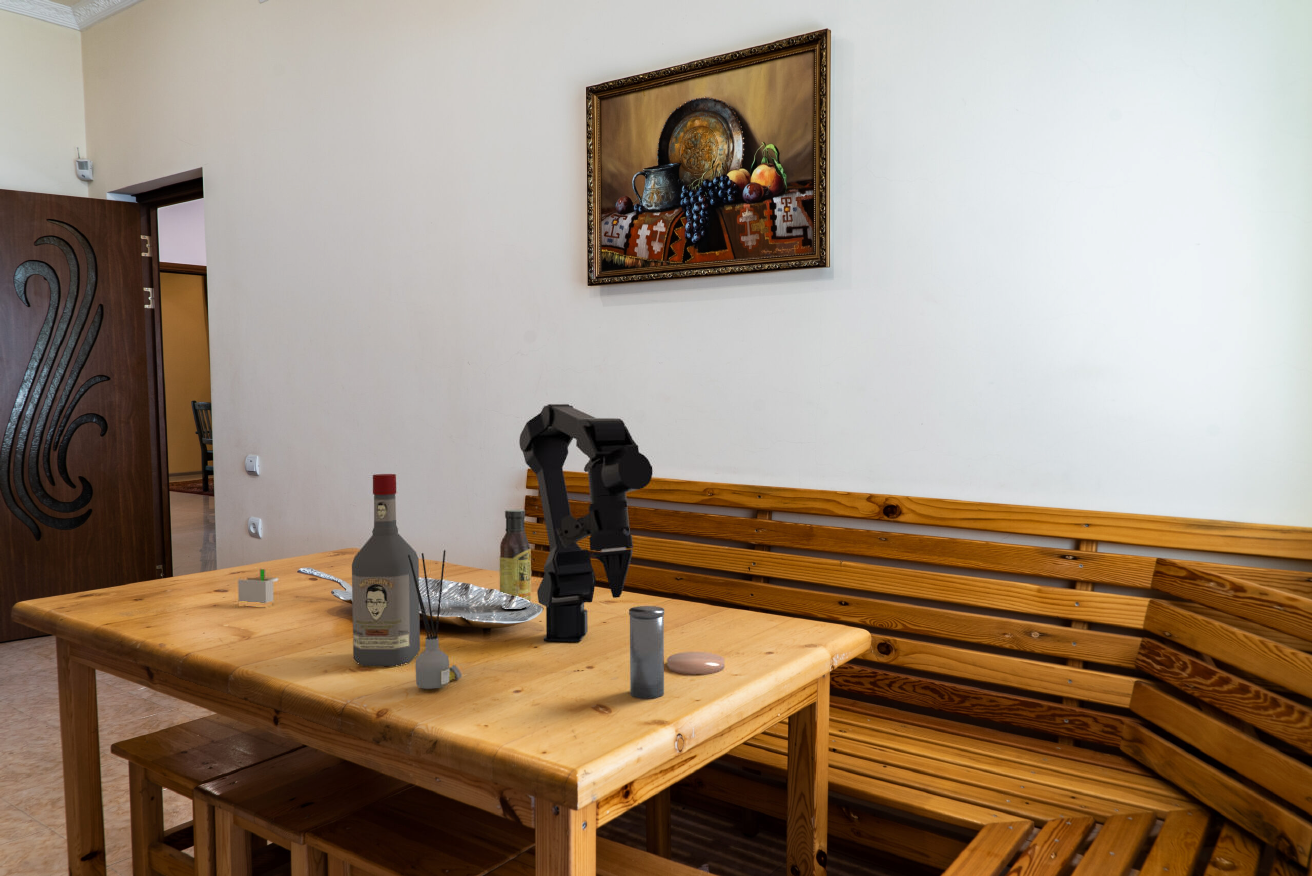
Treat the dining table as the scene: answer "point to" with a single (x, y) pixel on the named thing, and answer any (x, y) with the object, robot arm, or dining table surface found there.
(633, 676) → the canister
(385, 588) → the liquor
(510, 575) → the sauce bottle
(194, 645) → the dining table surface
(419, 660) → the reed diffuser
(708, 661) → the soap bar
